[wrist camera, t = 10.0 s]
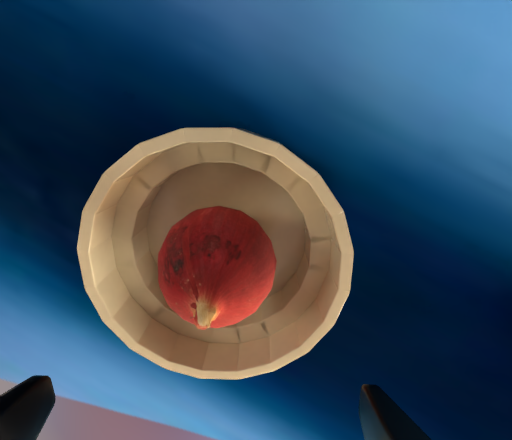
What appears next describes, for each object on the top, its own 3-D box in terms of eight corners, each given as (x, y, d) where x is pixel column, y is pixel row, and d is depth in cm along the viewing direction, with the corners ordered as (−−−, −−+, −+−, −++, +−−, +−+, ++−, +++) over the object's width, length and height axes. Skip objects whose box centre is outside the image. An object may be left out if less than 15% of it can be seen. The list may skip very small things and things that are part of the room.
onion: (162, 229, 18) (87, 300, 11) (234, 173, 17) (209, 208, 9) (220, 295, 19) (192, 402, 12) (291, 247, 18) (310, 332, 11)
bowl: (338, 128, 17) (367, 127, 12) (323, 323, 21) (340, 382, 16) (111, 128, 17) (52, 127, 12) (138, 320, 21) (101, 376, 16)
